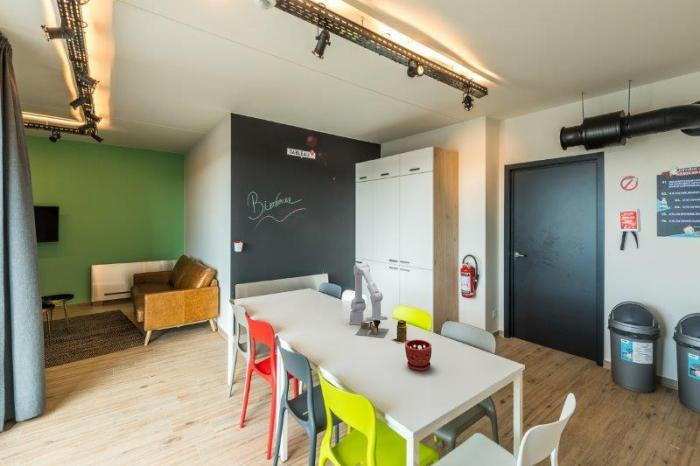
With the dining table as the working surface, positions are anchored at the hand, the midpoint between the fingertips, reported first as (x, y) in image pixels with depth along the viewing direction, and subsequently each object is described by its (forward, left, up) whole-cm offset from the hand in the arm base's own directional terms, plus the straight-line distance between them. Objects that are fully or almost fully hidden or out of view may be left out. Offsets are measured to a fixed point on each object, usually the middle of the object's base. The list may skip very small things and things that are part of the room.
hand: (376, 331), depth 211 cm
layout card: (-3, +2, -2) cm, 4 cm away
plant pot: (+31, -40, -2) cm, 50 cm away
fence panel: (-2, +1, -1) cm, 3 cm away
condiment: (+17, -7, -2) cm, 18 cm away
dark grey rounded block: (-8, +6, -1) cm, 10 cm away
